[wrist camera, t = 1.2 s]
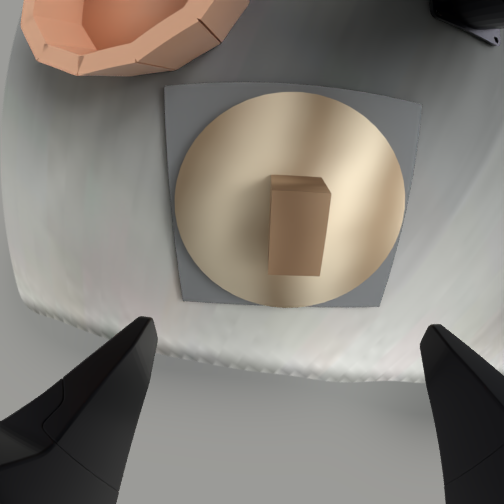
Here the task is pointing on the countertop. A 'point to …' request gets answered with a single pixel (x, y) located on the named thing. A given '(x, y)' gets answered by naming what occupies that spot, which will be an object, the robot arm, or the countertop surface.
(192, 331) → the countertop surface
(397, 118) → the mat
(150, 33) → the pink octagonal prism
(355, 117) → the lid
